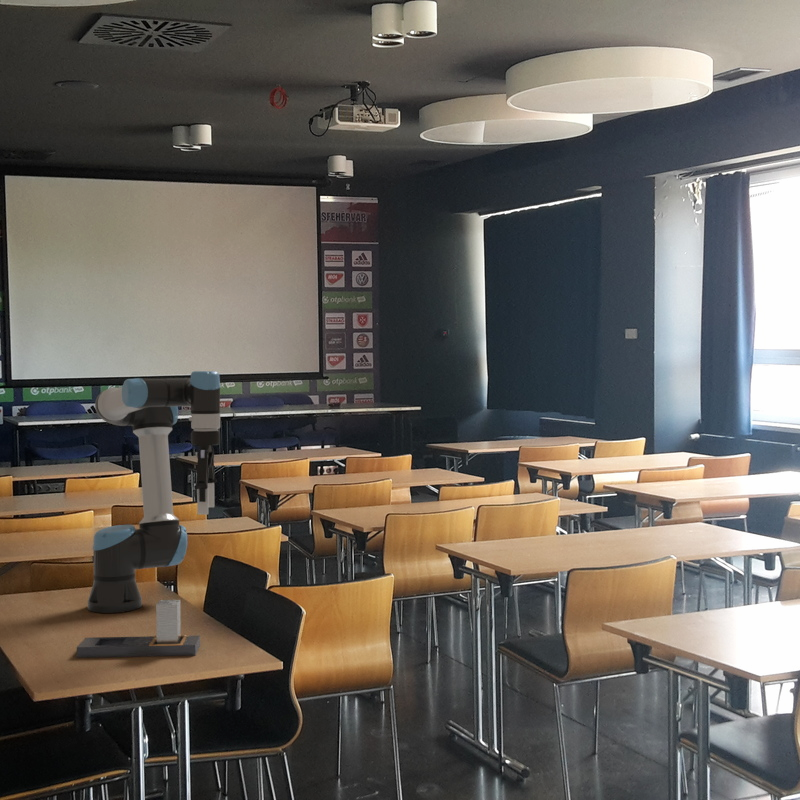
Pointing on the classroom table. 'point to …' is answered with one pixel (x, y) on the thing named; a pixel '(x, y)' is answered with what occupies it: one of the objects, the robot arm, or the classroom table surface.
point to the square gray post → (168, 622)
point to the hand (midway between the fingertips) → (206, 510)
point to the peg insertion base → (136, 647)
